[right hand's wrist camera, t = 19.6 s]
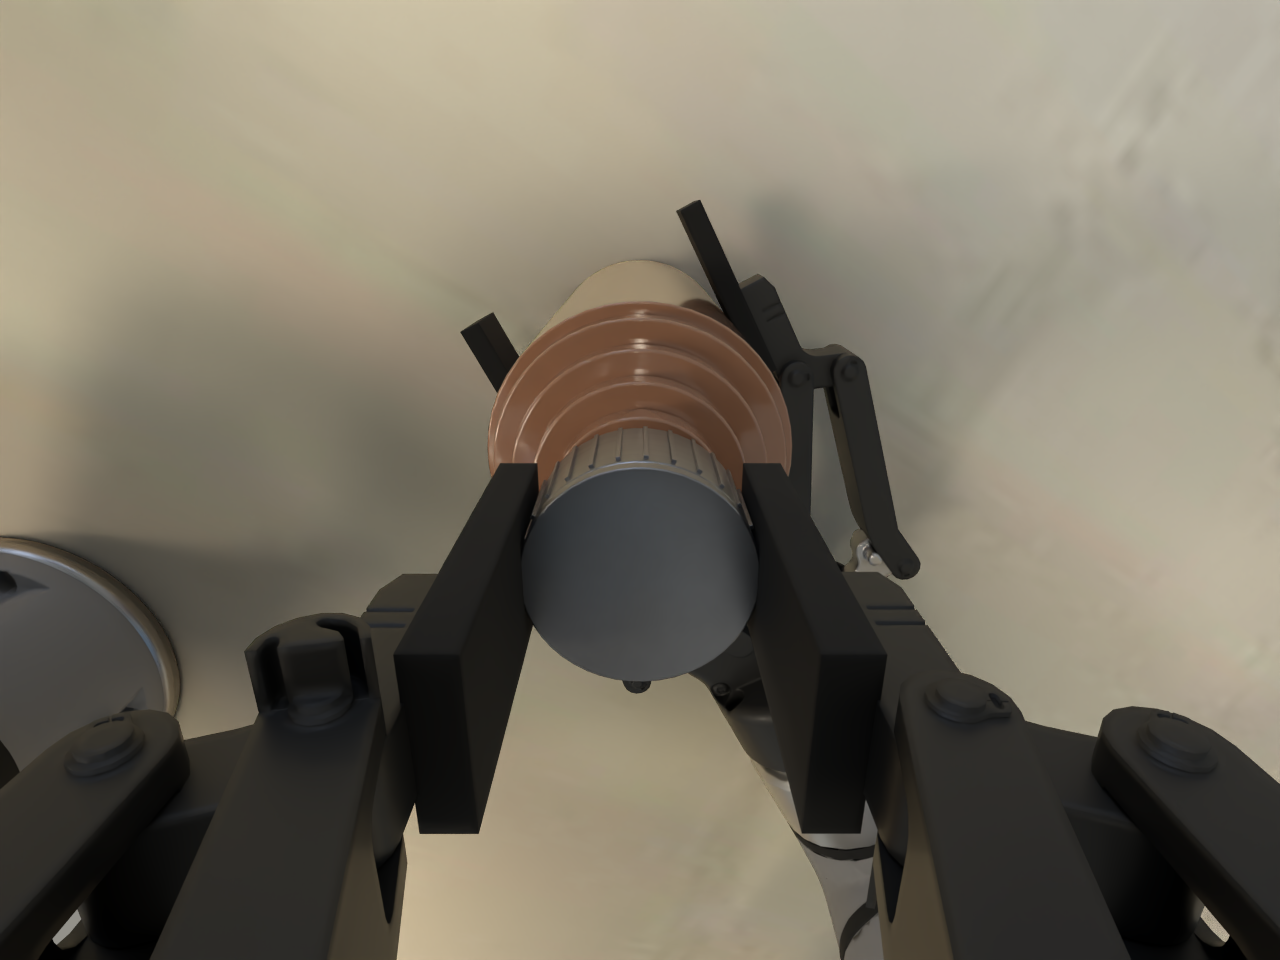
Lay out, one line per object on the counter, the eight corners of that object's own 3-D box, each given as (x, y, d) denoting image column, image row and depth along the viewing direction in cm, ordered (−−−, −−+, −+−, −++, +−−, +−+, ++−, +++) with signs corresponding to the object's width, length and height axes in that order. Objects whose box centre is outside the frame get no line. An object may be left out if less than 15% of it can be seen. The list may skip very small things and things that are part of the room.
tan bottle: (677, 454, 35) (729, 794, 15) (529, 386, 34) (360, 653, 13) (754, 307, 33) (950, 469, 12) (598, 228, 31) (518, 257, 11)
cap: (611, 381, 13) (606, 414, 11) (788, 502, 14) (815, 554, 12) (494, 548, 15) (469, 607, 12) (663, 649, 15) (667, 722, 13)
